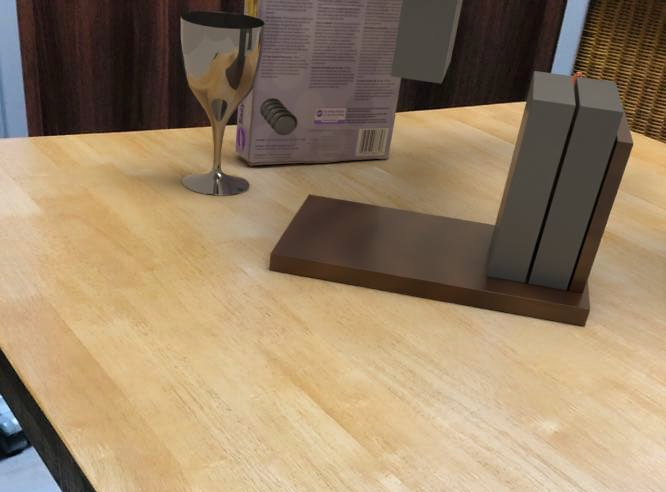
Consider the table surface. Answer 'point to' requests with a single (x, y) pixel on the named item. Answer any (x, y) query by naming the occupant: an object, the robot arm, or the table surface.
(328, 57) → the cake pan box
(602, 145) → the matching books
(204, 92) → the wine glass
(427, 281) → the book rack
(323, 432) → the table surface
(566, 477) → the table surface
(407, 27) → the grey book
